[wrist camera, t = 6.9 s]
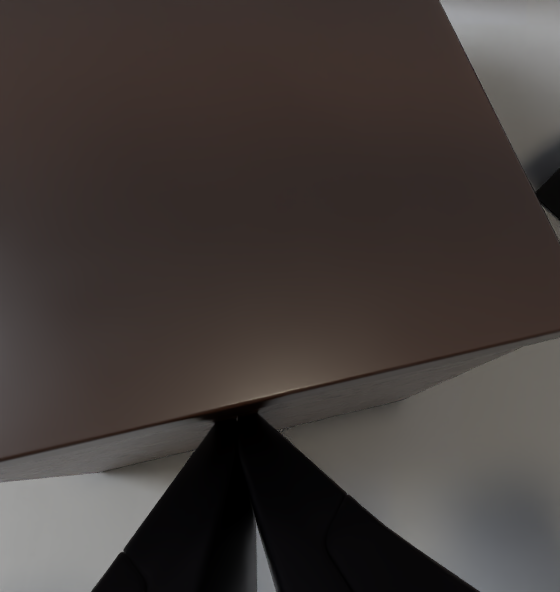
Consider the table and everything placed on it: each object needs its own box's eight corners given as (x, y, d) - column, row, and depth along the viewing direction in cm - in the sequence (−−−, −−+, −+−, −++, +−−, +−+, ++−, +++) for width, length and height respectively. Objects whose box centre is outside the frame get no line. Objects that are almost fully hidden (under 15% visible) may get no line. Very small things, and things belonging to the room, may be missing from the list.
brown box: (407, 401, 16) (601, 321, 6) (92, 477, 15) (-229, 516, 5) (290, 36, 22) (300, -282, 12) (62, 74, 21) (-115, -238, 11)
